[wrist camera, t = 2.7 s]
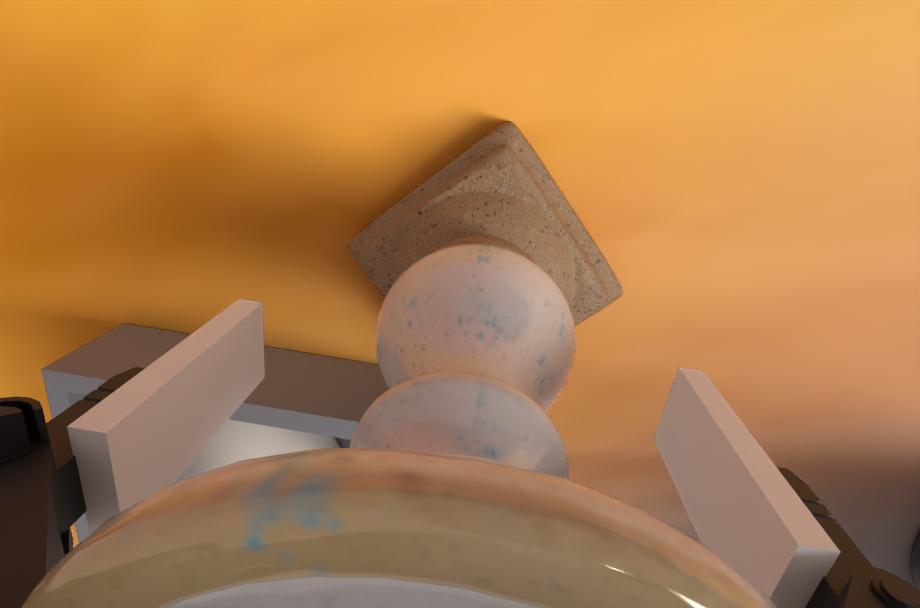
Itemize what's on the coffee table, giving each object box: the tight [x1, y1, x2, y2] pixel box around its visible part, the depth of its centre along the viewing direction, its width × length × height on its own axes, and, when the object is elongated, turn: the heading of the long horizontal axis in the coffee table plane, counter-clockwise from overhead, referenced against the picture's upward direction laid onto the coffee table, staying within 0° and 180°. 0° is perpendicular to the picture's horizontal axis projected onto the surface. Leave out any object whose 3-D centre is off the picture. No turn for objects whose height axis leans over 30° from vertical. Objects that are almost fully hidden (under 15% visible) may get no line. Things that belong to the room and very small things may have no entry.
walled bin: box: [41, 323, 389, 543], centre depth 32 cm, size 18×18×6 cm
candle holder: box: [21, 121, 778, 608], centre depth 17 cm, size 11×11×24 cm
